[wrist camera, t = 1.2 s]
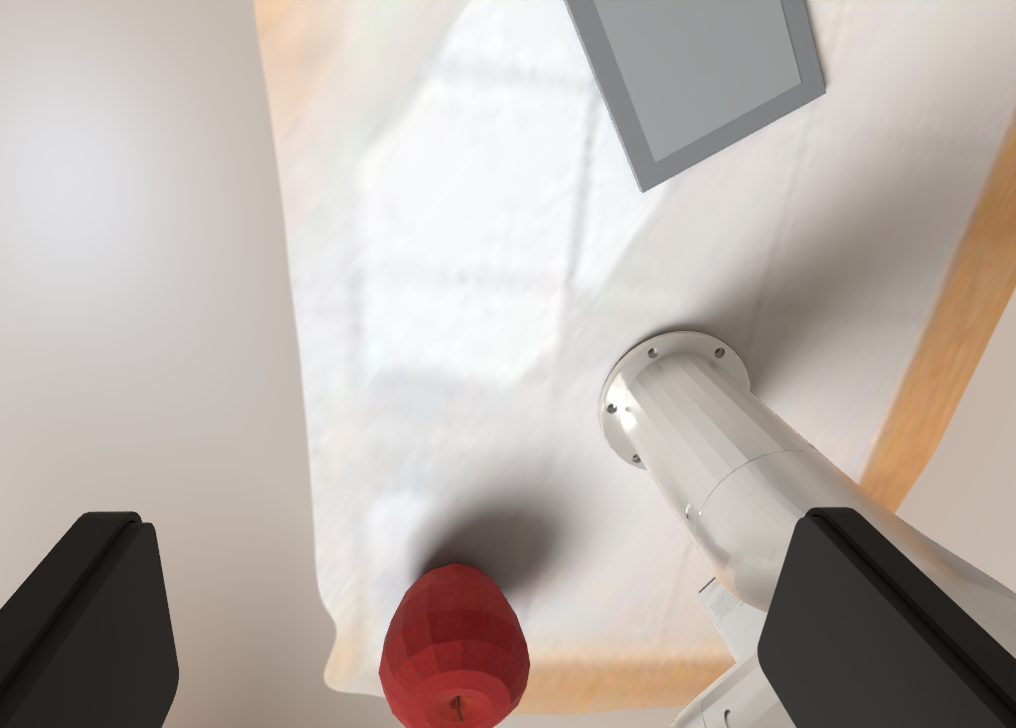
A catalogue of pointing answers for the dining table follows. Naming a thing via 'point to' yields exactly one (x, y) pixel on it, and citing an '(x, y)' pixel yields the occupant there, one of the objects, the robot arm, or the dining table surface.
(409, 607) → the apple
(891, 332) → the dining table surface
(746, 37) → the coaster
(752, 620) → the skincare box
